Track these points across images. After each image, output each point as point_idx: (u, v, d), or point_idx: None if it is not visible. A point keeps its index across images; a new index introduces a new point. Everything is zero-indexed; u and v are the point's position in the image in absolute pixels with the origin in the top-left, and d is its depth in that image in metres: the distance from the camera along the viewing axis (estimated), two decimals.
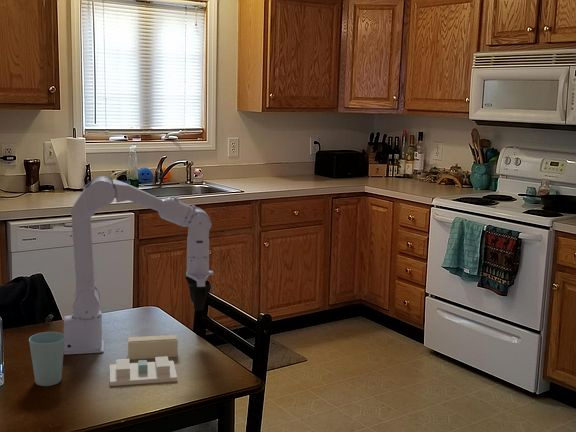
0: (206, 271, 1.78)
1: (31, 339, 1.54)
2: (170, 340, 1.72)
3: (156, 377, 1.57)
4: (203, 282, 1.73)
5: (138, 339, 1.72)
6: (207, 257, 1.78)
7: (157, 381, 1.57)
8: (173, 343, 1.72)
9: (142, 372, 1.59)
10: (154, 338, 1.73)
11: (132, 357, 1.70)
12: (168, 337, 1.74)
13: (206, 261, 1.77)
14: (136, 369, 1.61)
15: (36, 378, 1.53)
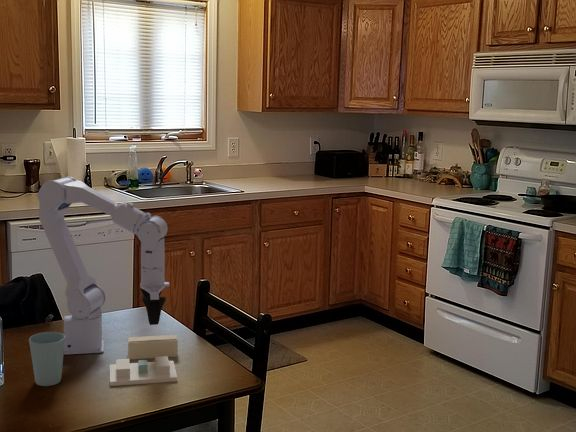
0: (161, 283, 1.68)
1: (31, 339, 1.54)
2: (170, 340, 1.72)
3: (156, 377, 1.57)
4: (157, 294, 1.63)
5: (138, 339, 1.72)
6: (162, 268, 1.68)
7: (157, 381, 1.57)
8: (173, 343, 1.72)
9: (142, 372, 1.59)
10: (154, 338, 1.73)
11: (132, 357, 1.70)
12: (168, 337, 1.74)
13: (161, 272, 1.68)
14: (136, 369, 1.61)
15: (36, 378, 1.53)
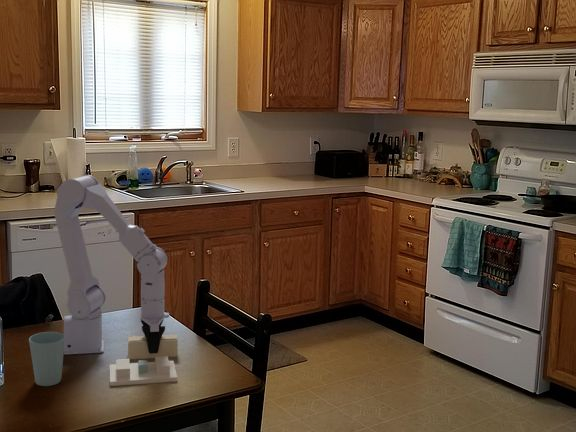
0: (161, 314, 1.70)
1: (31, 339, 1.54)
2: (170, 340, 1.72)
3: (156, 377, 1.57)
4: (157, 326, 1.65)
5: (138, 338, 1.72)
6: (162, 299, 1.69)
7: (157, 381, 1.57)
8: (172, 343, 1.72)
9: (142, 372, 1.59)
10: None
11: (132, 356, 1.70)
12: (168, 337, 1.74)
13: (161, 304, 1.69)
14: (136, 369, 1.61)
15: (36, 378, 1.53)
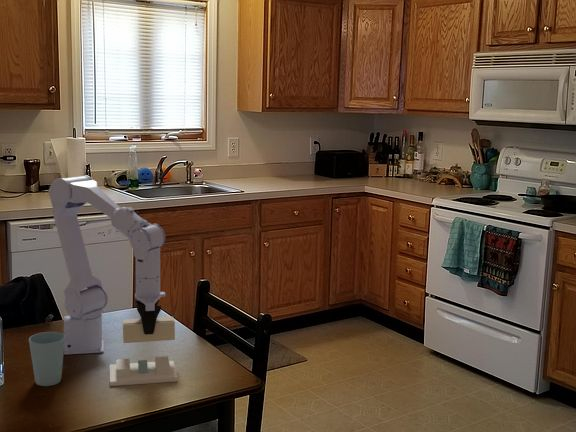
0: (157, 293, 1.62)
1: (31, 339, 1.54)
2: (167, 322, 1.64)
3: (156, 377, 1.57)
4: (153, 305, 1.57)
5: (134, 321, 1.64)
6: (158, 278, 1.62)
7: (157, 381, 1.57)
8: (169, 325, 1.64)
9: (142, 372, 1.59)
10: None
11: (127, 340, 1.62)
12: (165, 319, 1.66)
13: (157, 282, 1.62)
14: (136, 369, 1.61)
15: (36, 378, 1.53)
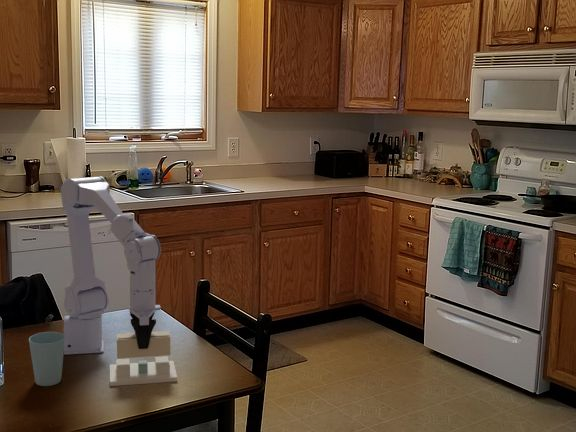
0: (152, 306, 1.57)
1: (31, 339, 1.54)
2: (162, 336, 1.59)
3: (156, 377, 1.57)
4: (147, 319, 1.51)
5: (128, 335, 1.59)
6: (153, 290, 1.56)
7: (157, 381, 1.57)
8: (165, 340, 1.59)
9: (142, 372, 1.59)
10: None
11: (121, 355, 1.57)
12: (160, 333, 1.60)
13: (151, 295, 1.56)
14: (136, 369, 1.61)
15: (36, 378, 1.53)
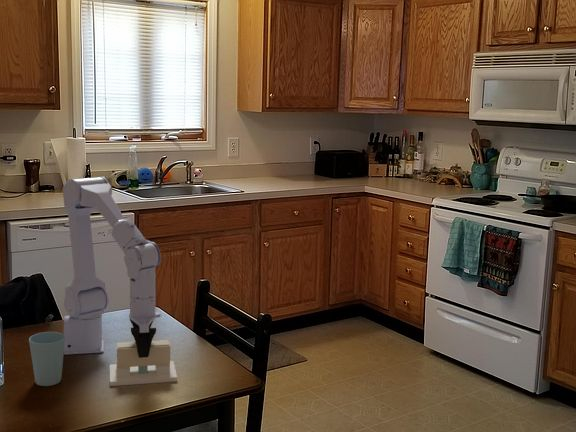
0: (152, 313, 1.57)
1: (31, 339, 1.54)
2: (162, 346, 1.59)
3: (156, 377, 1.57)
4: (147, 327, 1.52)
5: (128, 344, 1.59)
6: (153, 298, 1.57)
7: (157, 381, 1.57)
8: (165, 349, 1.59)
9: (142, 372, 1.59)
10: None
11: (121, 364, 1.57)
12: (160, 343, 1.61)
13: (151, 302, 1.56)
14: (136, 369, 1.61)
15: (36, 378, 1.53)
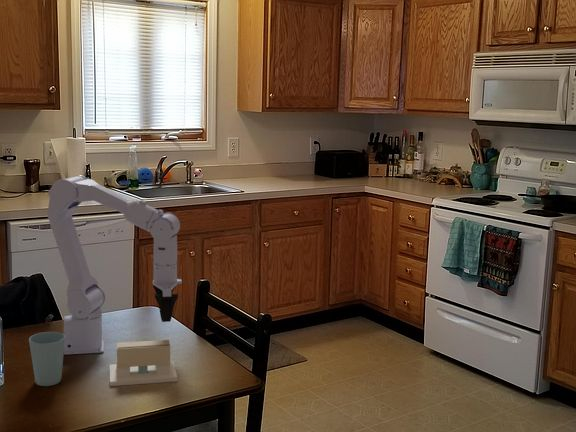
0: (174, 280, 1.68)
1: (31, 339, 1.54)
2: (162, 346, 1.59)
3: (156, 377, 1.57)
4: (169, 291, 1.63)
5: (128, 344, 1.59)
6: (175, 265, 1.68)
7: (157, 381, 1.57)
8: (165, 349, 1.59)
9: (142, 372, 1.59)
10: (145, 344, 1.60)
11: (121, 364, 1.57)
12: (160, 343, 1.61)
13: (173, 269, 1.67)
14: (136, 369, 1.61)
15: (36, 378, 1.53)
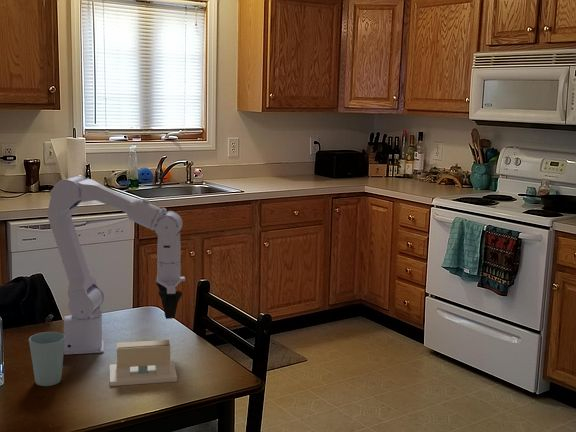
0: (177, 277, 1.70)
1: (31, 339, 1.54)
2: (162, 346, 1.59)
3: (156, 377, 1.57)
4: (174, 288, 1.65)
5: (128, 344, 1.59)
6: (178, 262, 1.70)
7: (157, 381, 1.57)
8: (165, 349, 1.59)
9: (142, 372, 1.59)
10: (145, 344, 1.60)
11: (121, 364, 1.57)
12: (160, 343, 1.61)
13: (177, 267, 1.70)
14: (136, 369, 1.61)
15: (36, 378, 1.53)
